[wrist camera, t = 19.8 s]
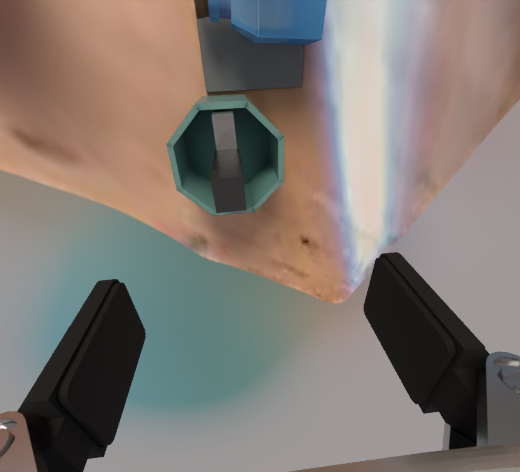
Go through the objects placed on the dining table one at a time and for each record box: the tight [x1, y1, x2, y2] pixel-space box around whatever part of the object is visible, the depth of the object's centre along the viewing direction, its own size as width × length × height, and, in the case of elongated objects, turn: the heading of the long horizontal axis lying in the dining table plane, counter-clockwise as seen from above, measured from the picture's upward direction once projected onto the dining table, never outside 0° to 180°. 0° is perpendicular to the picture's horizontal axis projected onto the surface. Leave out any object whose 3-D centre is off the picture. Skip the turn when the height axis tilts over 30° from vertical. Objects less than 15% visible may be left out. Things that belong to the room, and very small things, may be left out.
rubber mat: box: [194, 0, 304, 92], centre depth 30 cm, size 12×9×1 cm
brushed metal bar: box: [210, 108, 247, 213], centre depth 27 cm, size 2×9×18 cm, turn 4°
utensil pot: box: [166, 94, 284, 216], centre depth 32 cm, size 12×12×9 cm
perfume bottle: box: [195, 0, 326, 45], centre depth 26 cm, size 6×6×12 cm
